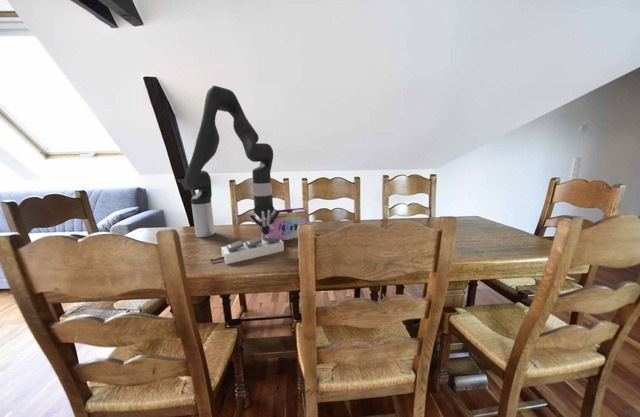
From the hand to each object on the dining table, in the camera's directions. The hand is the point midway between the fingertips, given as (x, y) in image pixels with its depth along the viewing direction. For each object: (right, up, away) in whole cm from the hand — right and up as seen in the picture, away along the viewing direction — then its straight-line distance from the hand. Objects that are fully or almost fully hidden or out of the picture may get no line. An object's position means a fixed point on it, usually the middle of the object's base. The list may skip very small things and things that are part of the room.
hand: (265, 234), depth 107 cm
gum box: (+5, -4, +20) cm, 21 cm away
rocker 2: (-5, -4, -2) cm, 6 cm away
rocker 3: (+2, -3, +2) cm, 4 cm away
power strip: (-7, -9, -1) cm, 11 cm away
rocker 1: (-11, -5, -6) cm, 13 cm away
